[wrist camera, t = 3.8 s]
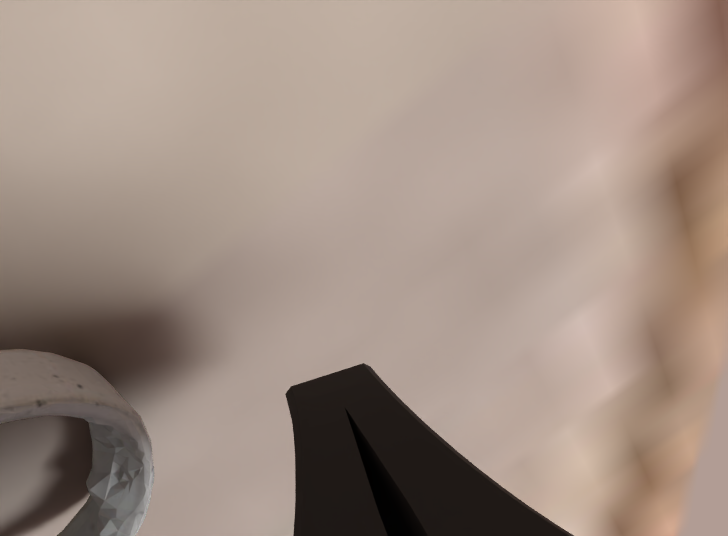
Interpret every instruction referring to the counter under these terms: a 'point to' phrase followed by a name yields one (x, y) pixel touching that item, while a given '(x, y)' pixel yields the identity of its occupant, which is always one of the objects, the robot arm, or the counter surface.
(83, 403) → the ceramic mug
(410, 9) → the counter surface
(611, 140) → the counter surface
